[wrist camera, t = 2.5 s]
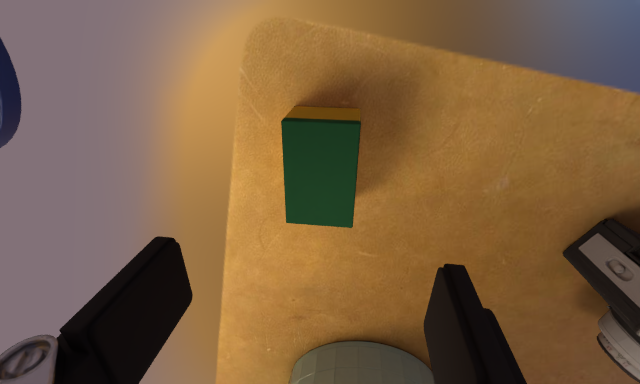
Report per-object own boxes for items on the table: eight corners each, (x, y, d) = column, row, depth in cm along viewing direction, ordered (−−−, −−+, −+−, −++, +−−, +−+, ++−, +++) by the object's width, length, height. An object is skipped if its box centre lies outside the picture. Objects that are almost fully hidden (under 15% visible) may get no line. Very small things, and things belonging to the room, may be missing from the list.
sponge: (296, 195, 24) (286, 223, 20) (294, 105, 20) (281, 120, 17) (353, 199, 23) (352, 228, 20) (360, 108, 20) (360, 124, 16)
